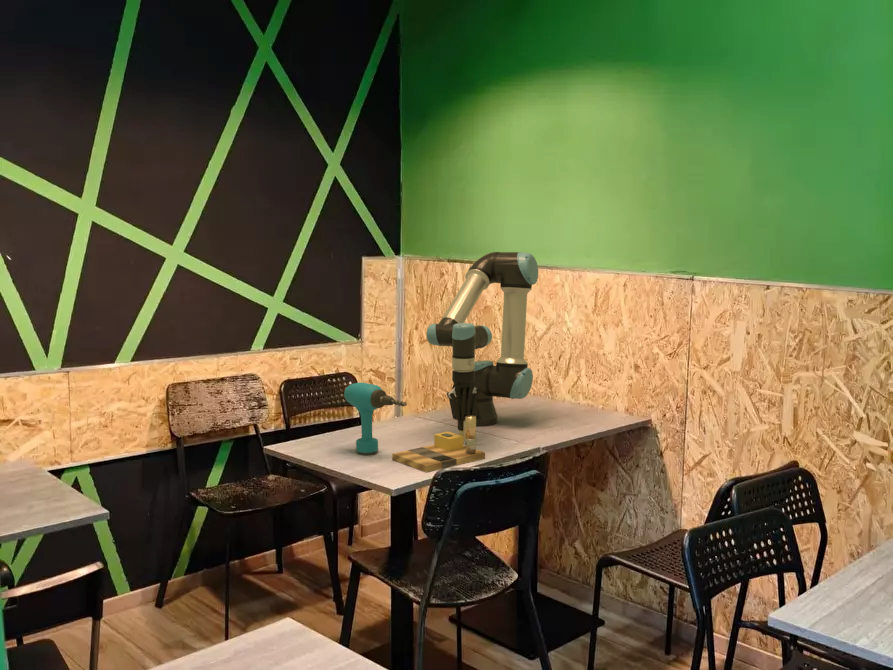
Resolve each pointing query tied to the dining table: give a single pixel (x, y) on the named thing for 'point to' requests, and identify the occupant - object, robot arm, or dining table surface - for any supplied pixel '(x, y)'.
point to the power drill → (368, 411)
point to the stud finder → (448, 441)
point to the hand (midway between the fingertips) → (463, 439)
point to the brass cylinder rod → (470, 434)
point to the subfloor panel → (435, 458)
